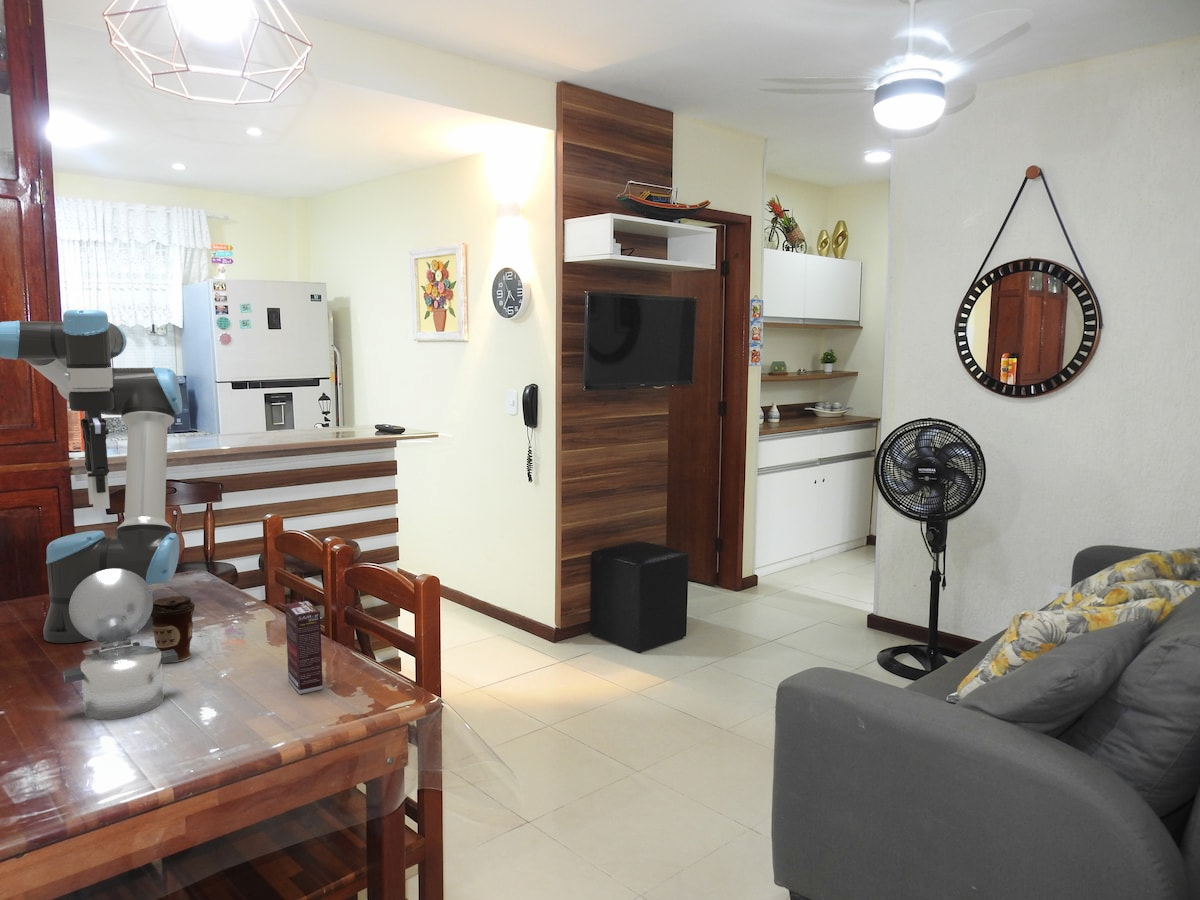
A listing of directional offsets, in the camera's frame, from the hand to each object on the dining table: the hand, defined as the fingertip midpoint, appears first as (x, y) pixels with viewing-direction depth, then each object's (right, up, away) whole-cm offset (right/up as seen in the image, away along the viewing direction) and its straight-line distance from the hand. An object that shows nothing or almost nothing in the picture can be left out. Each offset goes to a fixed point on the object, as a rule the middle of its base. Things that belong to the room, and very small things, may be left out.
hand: (99, 505), depth 167 cm
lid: (+6, -19, -6) cm, 21 cm away
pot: (+11, -36, -10) cm, 39 cm away
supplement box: (+41, -36, -1) cm, 55 cm away
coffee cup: (+8, -34, +13) cm, 37 cm away
